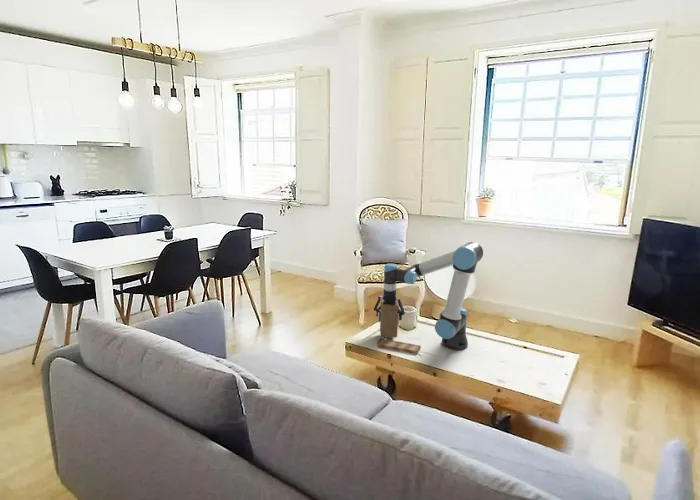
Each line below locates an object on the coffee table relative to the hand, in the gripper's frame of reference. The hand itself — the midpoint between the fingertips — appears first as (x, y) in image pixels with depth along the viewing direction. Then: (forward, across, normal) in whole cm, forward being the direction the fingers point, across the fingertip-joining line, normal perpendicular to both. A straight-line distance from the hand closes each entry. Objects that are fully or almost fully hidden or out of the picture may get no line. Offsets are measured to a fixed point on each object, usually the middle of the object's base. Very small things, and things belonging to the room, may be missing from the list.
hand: (388, 323), depth 268 cm
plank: (+9, -10, +11) cm, 17 cm away
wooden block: (+8, 0, 0) cm, 8 cm away
